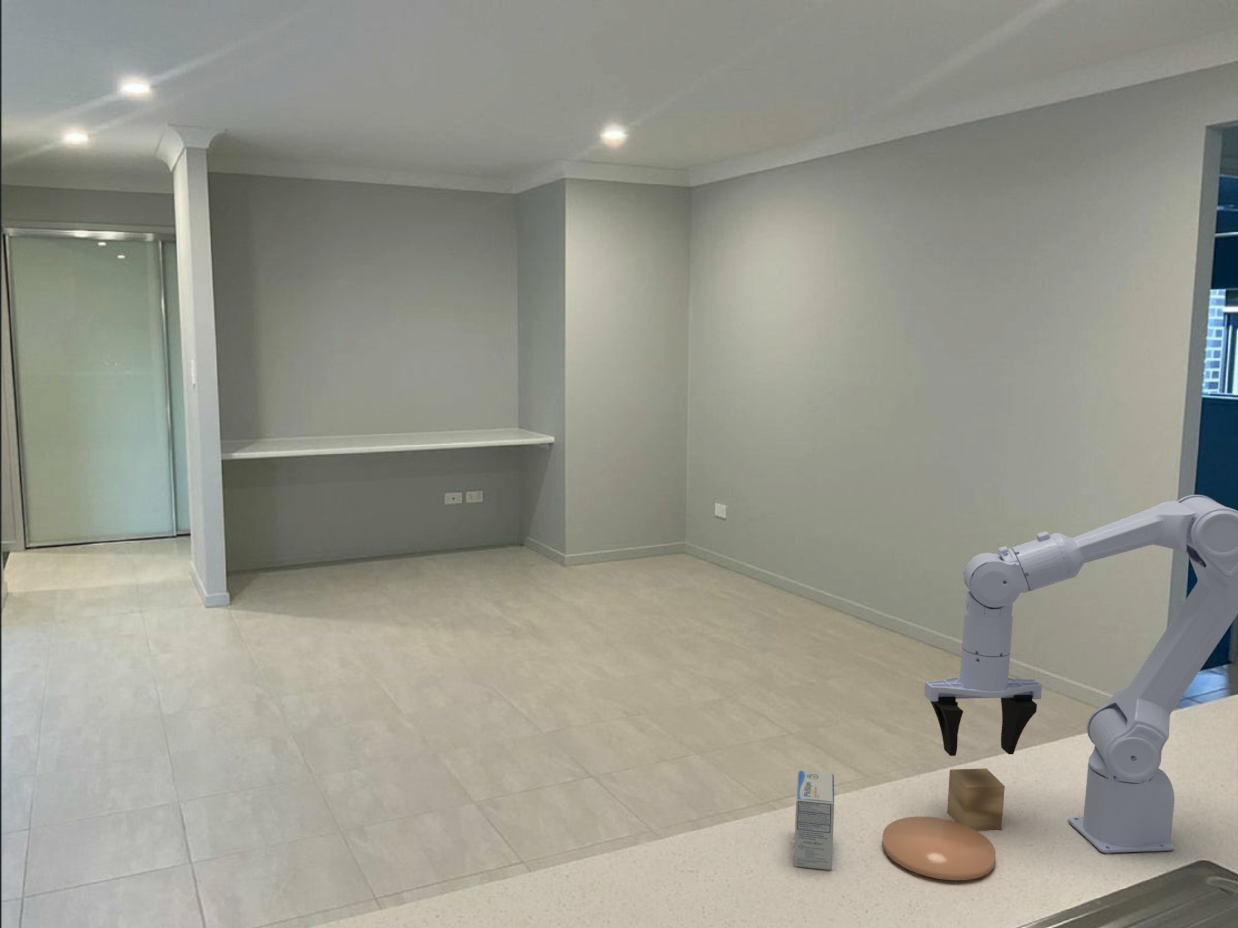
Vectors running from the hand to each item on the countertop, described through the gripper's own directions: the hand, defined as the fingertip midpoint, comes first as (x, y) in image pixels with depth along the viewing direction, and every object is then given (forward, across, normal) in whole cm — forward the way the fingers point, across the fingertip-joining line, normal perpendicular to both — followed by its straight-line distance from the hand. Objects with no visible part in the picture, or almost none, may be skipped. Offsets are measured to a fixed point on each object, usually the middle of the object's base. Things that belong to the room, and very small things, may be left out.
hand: (978, 751), depth 127 cm
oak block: (+10, 0, 0) cm, 10 cm away
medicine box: (+10, +23, +6) cm, 26 cm away
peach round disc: (+9, +8, +8) cm, 14 cm away
